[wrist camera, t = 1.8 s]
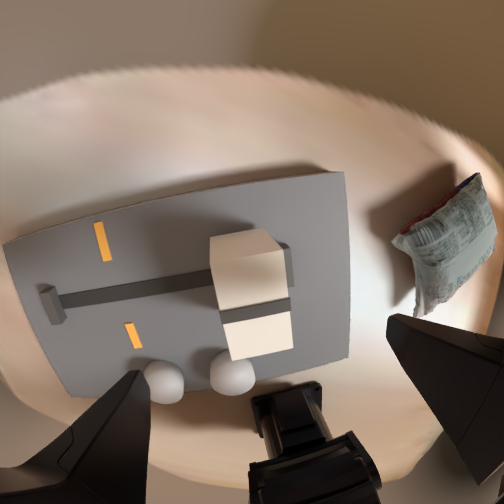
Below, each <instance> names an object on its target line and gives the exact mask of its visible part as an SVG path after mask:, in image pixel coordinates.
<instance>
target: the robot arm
mask: <svg viewBox="0 0 504 504" xmlns="http://www.w3.org/2000/svg"><path fill="white" fill-rule="evenodd" d="M386 338H387V341H388V343H389V344H390V346H391V348H392V350H393V351H394V353H395V355H396V357H397V359H398V360H399V362H400V364H401V366H402V368H403V369H404V371H405V372H406V374H407V375H408V377H409V378H410V379H411V381H412V382H413V384H414V385H415V387H416V388H417V390H418V391H419V392H420V394H421V395H422V397H423V398H424V400H425V401H426V403H427V404H428V406H429V407H430V409H431V410H432V412H433V413H434V415H435V416H436V418H437V419H438V421H439V422H440V424H441V426H442V427H443V429H444V430H445V432H446V433H447V435H448V436H449V438H450V440H451V441H452V443H453V445H454V446H455V447H456V450H457V451H458V453H459V455H460V456H461V458H462V459H463V461H464V463H465V465H466V466H467V468H468V470H469V472H470V473H471V475H472V477H473V479H474V480H475V482H476V484H477V485H478V486H479V485H480V484H482V483H483V482H484V481H485V480H486V479H487V478H488V477H490V476H491V475H492V474H493V473H494V472H495V471H496V470H497V469H498V468H499V467H500V466H502V465H503V464H504V339H503V338H497V337H492V336H487V335H482V334H478V333H474V332H470V331H466V330H462V329H458V328H454V327H450V326H446V325H442V324H438V323H434V322H430V321H426V320H422V319H418V318H414V317H411V316H407V315H403V314H399V313H397V314H394V315H391V316H389V317H388V320H387V329H386ZM255 402H257V403H255ZM251 405H252V409H253V413H254V417H255V421H256V425H257V429H258V433H259V436H260V438H264V441H265V445H266V449H267V453H268V458H269V460H266V461H262V462H257V463H256V462H253V463H249V466H250V471H248V478H249V493H250V495H249V502H248V504H381V503H380V500H379V497H378V494H377V491H378V490H380V489H381V488H382V483H381V478H380V475H379V472H378V470H377V468H376V465H375V463H374V462H373V460H372V458H371V457H370V455H369V454H368V453H367V451H366V450H365V448H364V447H363V446H362V444H361V443H360V441H359V440H358V439H357V437H356V436H355V434H354V433H353V432H352V430H351V431H349V432H347V433H345V434H344V435H342V436H339V437H337V438H334V439H333V437H332V435H331V433H330V430H329V428H328V426H327V424H326V422H325V420H324V417H323V415H322V413H321V411H322V386H321V384H320V383H313V384H310V385H306V386H302V387H299V388H295V389H291V390H287V391H282V392H278V393H274V394H269V395H264V396H259V397H255V398H253V399H252V400H251ZM150 429H151V413H150V387H149V385H148V383H147V381H146V379H145V376H144V374H143V372H142V371H141V370H139V369H137V370H129V371H128V372H127V373H126V374H125V375H124V376H123V377H122V378H121V379H120V380H119V381H117V382H116V383H115V384H114V385H113V386H112V387H111V388H110V389H109V390H108V391H107V392H106V393H105V394H104V395H103V396H101V397H100V398H99V399H98V400H97V401H96V402H95V403H94V404H93V405H92V406H91V407H90V408H89V409H88V410H87V411H85V412H84V413H83V414H82V415H81V416H80V417H79V418H78V419H77V420H76V421H75V422H74V423H73V424H72V425H71V426H69V427H68V428H67V429H66V430H65V431H64V432H63V433H62V434H61V435H60V436H58V437H57V438H56V439H55V440H54V441H53V442H51V443H50V444H49V445H48V446H46V447H45V448H44V449H42V450H41V451H40V452H38V453H37V454H36V455H34V456H33V457H32V458H30V459H29V460H28V461H26V462H25V463H23V464H22V465H20V466H17V467H12V468H0V504H146V501H145V500H146V480H147V464H148V451H149V440H150ZM492 504H504V475H503V476H502V480H501V485H500V490H499V495H498V498H497V499H496V500H495V501H494V502H493V503H492Z"/></svg>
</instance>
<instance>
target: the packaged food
mask: <svg viewBox="0 0 504 504" xmlns="http://www.w3.org/2000/svg"><path fill="white" fill-rule="evenodd" d="M496 235H498V234H497V229H496V224H495V220H494V218H493V213H492V210H491V207H490V204H489V201H488V197H487V194H486V192H485V189H484V186H483V183H482V178H481V175H480V173H475V174H473V175H472V176H470V177H469V178H467V179H466V180H464V181H463V182H462V183H461V184H460V185H458V186H457V187H456V188H455V189H454V190H453V191H452V192H451V193H450V194H449V195H447V196H446V197H445V198H444V199H443V200H442V201H441V202H440V203H439V204H437V205H435V206H433V207H432V208H431V209H430V210H428V211H426V212H425V213H424V214H422V215H421V216H419V217H417V218H416V219H415V220H414V221H412V222H410V223H409V224H407V225H405V226H404V227H403V228H402V229H401V230H400V232H399V234H398V235H397V236H396V237H395V238H394V239H393V240H392V241H391V243H392V244H393V246H394V247H396V248H398V249H399V250H401V251H403V252H405V253H406V254H408V255H409V256H410V258H411V259H412V262H413V268H414V272H415V287H416V299H415V301H416V306H415V308H414V309H413V310H414V313H413V317H414V318H419V317H422V316H423V315H427V314H428V313H430V312H432V311H433V310H434V308H435V307H436V305H438V304H440V303H444V302H447V301H448V300H449V299H450V298H451V297H452V296H453V295H454V294H455V292H456V291H457V290H458V288H459V287H461V285H463V284H464V283H465V282H466V281H468V280H469V279H470V278H471V276H472V275H473V274H474V273H475V272H476V271H477V270H478V269H479V267H480V266H481V265H482V264H483V263H484V262H485V261H486V260H487V259H488V258H489V256H490V255H491V253H492V251H496V246H495V244H494V241H495V237H496Z"/></svg>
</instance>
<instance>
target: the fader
mask: <svg viewBox="0 0 504 504" xmlns="http://www.w3.org/2000/svg"><path fill="white" fill-rule="evenodd" d="M210 267H211V272H212V277H213V281H214V286H215V291H216V295H217V300H218V304H219V309H220V311H219V315H220V319H221V323H222V325H223V326H224V330H225V334H226V339H227V343H228V347H229V351H230V355H231V359H232V361H234V360H239V359H245V358H250V357H255V356H260V355H265V354H269V353H274V352H278V351H283V350H287V349H291V348H293V339H292V328H291V317H290V311H292V310H291V300H290V297H288V288H287V279H286V270H285V261H284V252H283V249H282V248H281V247H280V246H279V244H278V243H277V242H276V241H275V240H274V239H273V238H272V237H271V236H270V234H269V233H268V232H267V231H266V230H265V229H264V228H258V229H252V230H247V231H241V232H235V233H230V234H224V235H219V236H214V237H210Z"/></svg>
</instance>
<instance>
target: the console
mask: <svg viewBox="0 0 504 504" xmlns="http://www.w3.org/2000/svg"><path fill="white" fill-rule="evenodd" d="M258 228H264V229H265V230H266V231H267V232H268V233H269V234H270V236H271V237H272V238H273V239H274V240H275V241H276V242H277V243H278V244H279V246H280V247H281V248H282V249H283V252H284V261H285V270H286V279H287V288H288V297H290V300H291V310H292V311H290V317H291V328H292V339H293V348H291V349H287V350H283V351H278V352H274V353H269V354H265V355H260V356H255V357H250V358H245V359H239V360H234V361H232V359H231V355H230V351H229V347H228V343H227V339H226V334H225V330H224V326H223V325H222V323H221V319H220V315H219V311H220V309H219V304H218V300H217V295H216V291H215V286H214V281H213V277H212V272H211V267H210V237H214V236H219V235H224V234H230V233H235V232H241V231H247V230H252V229H258ZM2 246H3V250H4V253H5V257H6V260H7V263H8V267H9V270H10V273H11V276H12V279H13V282H14V285H15V287H16V290H17V293H18V295H19V298H20V301H21V303H22V306H23V308H24V310H25V313H26V315H27V317H28V320H29V322H30V324H31V326H32V329H33V331H34V333H35V335H36V337H37V339H38V341H39V343H40V345H41V347H42V349H43V351H44V353H45V355H46V356H47V358H48V360H49V362H50V364H51V365H52V367H53V369H54V371H55V372H56V374H57V376H58V377H59V379H60V381H61V382H62V384H63V385H64V387H65V389H66V390H67V392H68V393H69V395H70V396H71V397H101V396H103V395H104V394H105V393H106V392H107V391H108V390H109V389H110V388H111V387H112V386H113V385H114V384H115V383H116V382H117V381H119V380H120V379H121V378H122V377H123V376H124V375H125V374H126V373H127V372H128V371H129V370H137V369H139V370H141V371H142V372H143V374H144V376H145V379H146V381H147V383H148V385H149V387H150V400H152V401H154V402H157V403H160V404H172V403H175V402H178V401H179V400H180V399H181V398H182V396H183V393H185V392H194V391H201V390H209V389H214V390H215V391H217V392H218V393H220V394H223V395H228V396H235V395H240V394H243V393H245V392H247V391H249V390H250V389H251V388H252V387H253V385H254V383H255V381H260V380H265V379H270V378H274V377H279V376H283V375H287V374H291V373H295V372H299V371H303V370H307V369H311V368H314V367H318V366H322V365H325V364H328V363H332V362H335V361H338V360H342V359H345V358H348V353H349V333H350V246H349V226H348V211H347V198H346V187H345V177H344V172H333V171H330V172H320V173H311V174H302V175H294V176H286V177H279V178H271V179H264V180H257V181H251V182H244V183H238V184H232V185H226V186H220V187H215V188H209V189H204V190H198V191H193V192H188V193H183V194H178V195H173V196H168V197H164V198H159V199H155V200H150V201H146V202H141V203H137V204H133V205H129V206H125V207H120V208H116V209H112V210H109V211H105V212H101V213H97V214H93V215H90V216H86V217H83V218H79V219H75V220H72V221H69V222H65V223H62V224H58V225H55V226H52V227H49V228H46V229H42V230H39V231H36V232H33V233H30V234H27V235H24V236H21V237H18V238H16V239H14V240H11V241H9V242H7V243H5V244H3V245H2Z"/></svg>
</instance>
